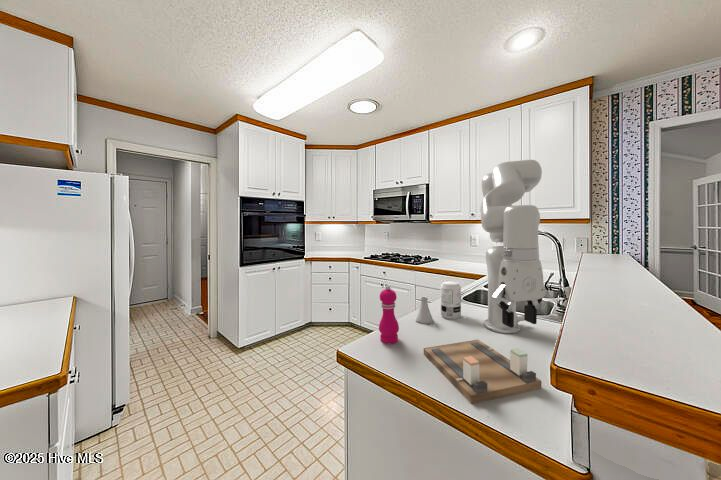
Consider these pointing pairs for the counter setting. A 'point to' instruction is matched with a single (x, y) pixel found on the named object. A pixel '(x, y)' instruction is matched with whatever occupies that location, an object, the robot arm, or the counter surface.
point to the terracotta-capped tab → (470, 369)
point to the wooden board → (480, 371)
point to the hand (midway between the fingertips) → (519, 323)
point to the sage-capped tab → (518, 361)
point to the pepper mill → (388, 317)
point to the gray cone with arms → (424, 312)
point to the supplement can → (450, 299)
